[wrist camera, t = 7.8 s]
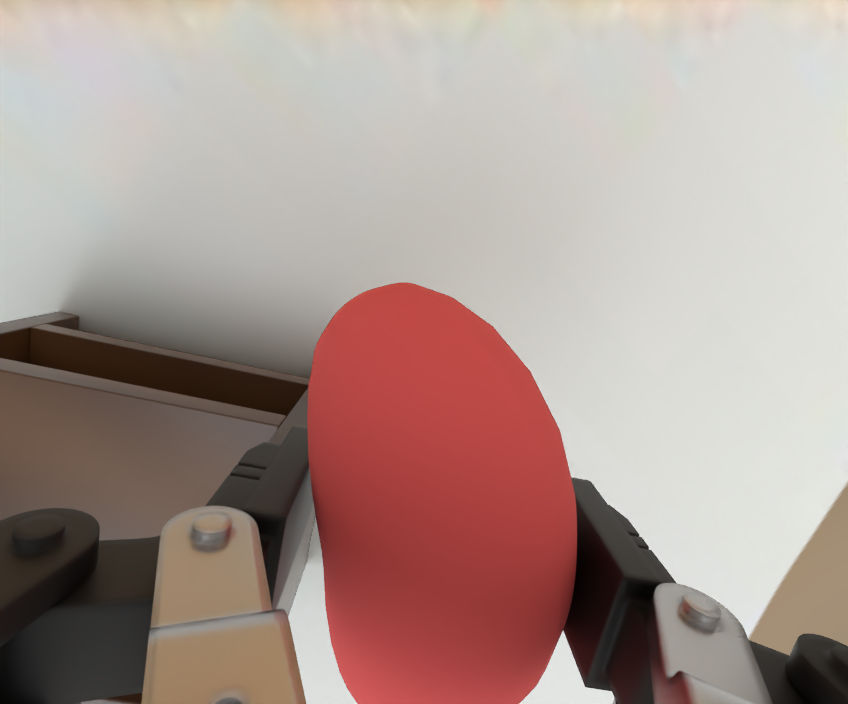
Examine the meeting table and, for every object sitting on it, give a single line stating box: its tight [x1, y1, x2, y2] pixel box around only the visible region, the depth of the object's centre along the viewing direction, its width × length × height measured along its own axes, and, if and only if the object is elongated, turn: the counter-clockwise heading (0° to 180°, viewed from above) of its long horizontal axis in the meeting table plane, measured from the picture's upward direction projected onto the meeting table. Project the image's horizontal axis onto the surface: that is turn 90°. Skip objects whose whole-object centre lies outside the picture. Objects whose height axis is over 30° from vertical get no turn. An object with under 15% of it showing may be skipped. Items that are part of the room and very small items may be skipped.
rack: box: [0, 312, 315, 704], centre depth 23 cm, size 13×16×11 cm
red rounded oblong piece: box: [307, 283, 577, 704], centre depth 10 cm, size 5×9×6 cm, turn 172°
